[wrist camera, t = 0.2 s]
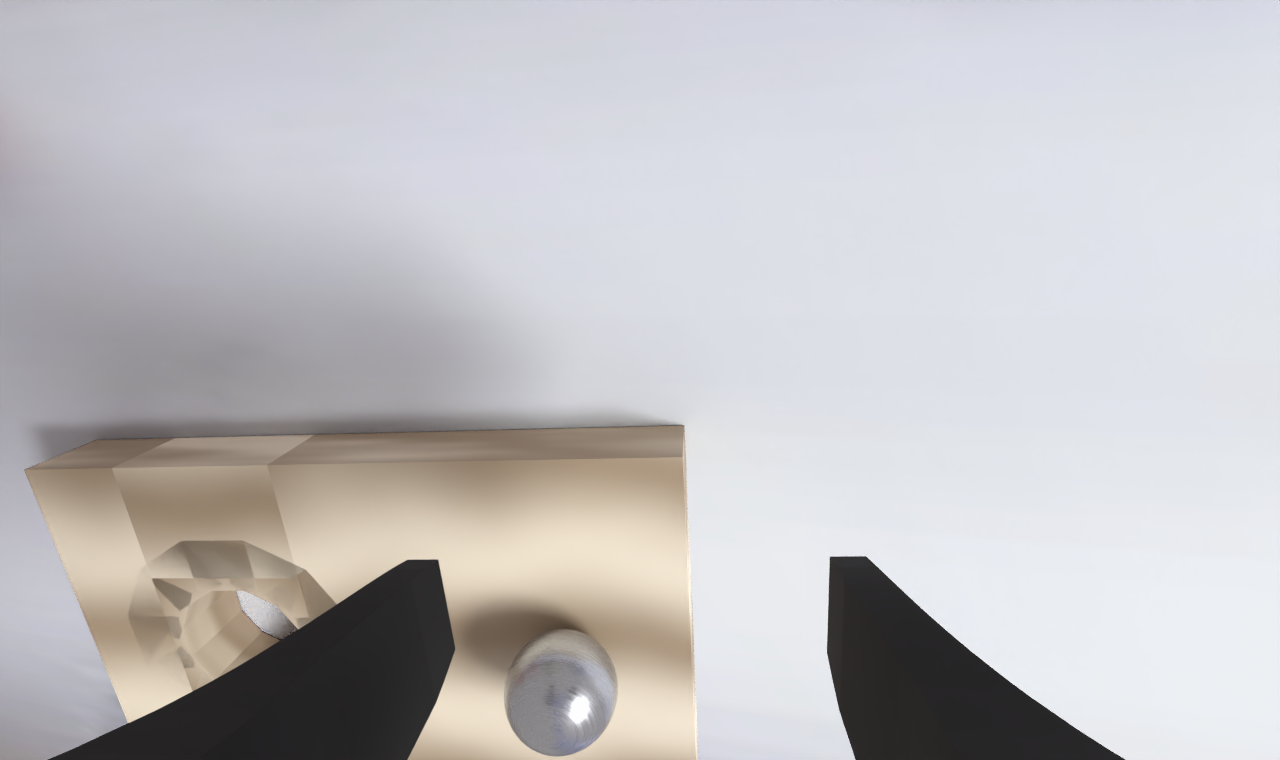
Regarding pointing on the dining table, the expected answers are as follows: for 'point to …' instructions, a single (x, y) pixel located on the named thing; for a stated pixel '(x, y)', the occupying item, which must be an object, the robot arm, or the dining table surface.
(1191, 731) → the dining table surface
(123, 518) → the birch plate
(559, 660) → the silver metal ball
